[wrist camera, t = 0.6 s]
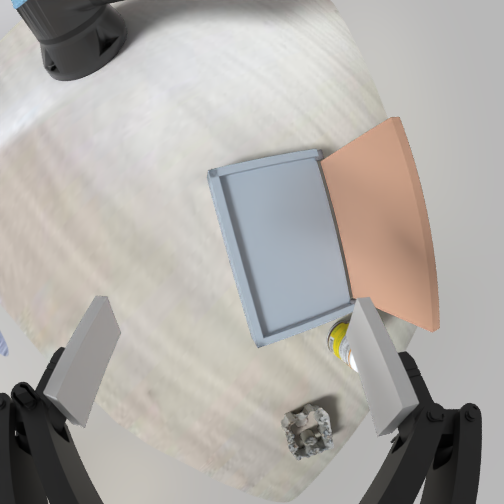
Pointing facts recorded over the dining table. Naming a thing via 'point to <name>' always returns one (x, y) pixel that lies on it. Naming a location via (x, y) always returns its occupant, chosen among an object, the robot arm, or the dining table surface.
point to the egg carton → (308, 432)
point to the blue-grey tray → (281, 244)
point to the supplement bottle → (341, 343)
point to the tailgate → (385, 224)
